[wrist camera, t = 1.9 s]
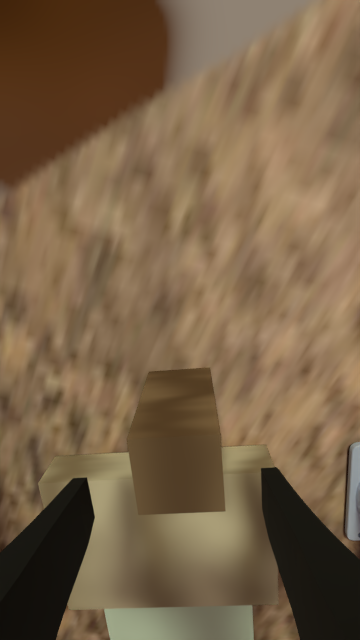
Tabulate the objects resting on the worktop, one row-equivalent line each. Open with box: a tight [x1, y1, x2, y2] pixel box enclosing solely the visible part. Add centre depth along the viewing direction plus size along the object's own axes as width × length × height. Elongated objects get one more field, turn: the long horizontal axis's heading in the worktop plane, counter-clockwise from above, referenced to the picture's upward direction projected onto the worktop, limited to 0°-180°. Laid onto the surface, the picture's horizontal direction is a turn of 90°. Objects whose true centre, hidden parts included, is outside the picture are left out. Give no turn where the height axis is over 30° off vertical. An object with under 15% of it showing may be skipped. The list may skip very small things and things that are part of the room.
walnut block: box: [127, 368, 226, 515], centre depth 16 cm, size 4×4×7 cm
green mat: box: [104, 605, 254, 640], centre depth 24 cm, size 12×10×1 cm
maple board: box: [38, 445, 278, 610], centre depth 21 cm, size 15×11×2 cm
